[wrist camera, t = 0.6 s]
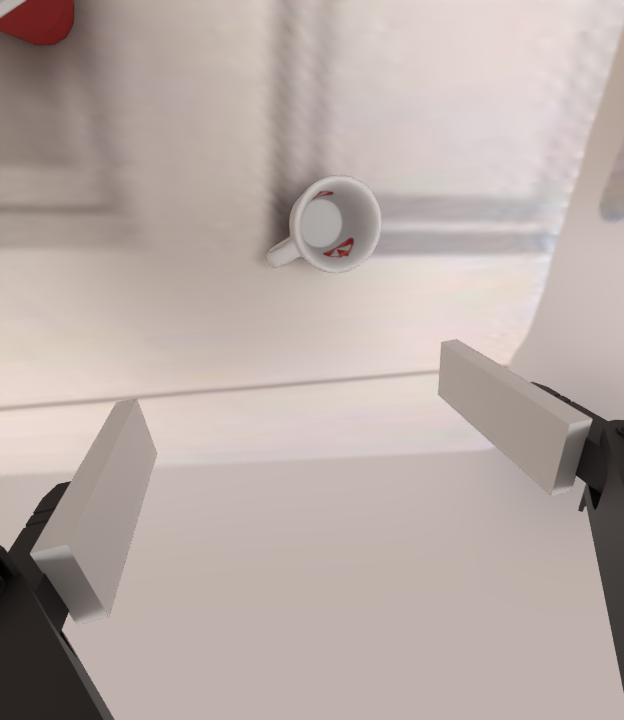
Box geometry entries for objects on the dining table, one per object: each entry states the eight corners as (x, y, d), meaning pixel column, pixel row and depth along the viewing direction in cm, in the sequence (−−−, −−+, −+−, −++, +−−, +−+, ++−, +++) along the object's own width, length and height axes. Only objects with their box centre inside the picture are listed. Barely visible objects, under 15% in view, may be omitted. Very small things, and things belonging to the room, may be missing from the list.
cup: (281, 288, 39) (293, 305, 32) (243, 220, 36) (246, 223, 28) (365, 238, 39) (395, 245, 32) (334, 166, 35) (360, 155, 28)
